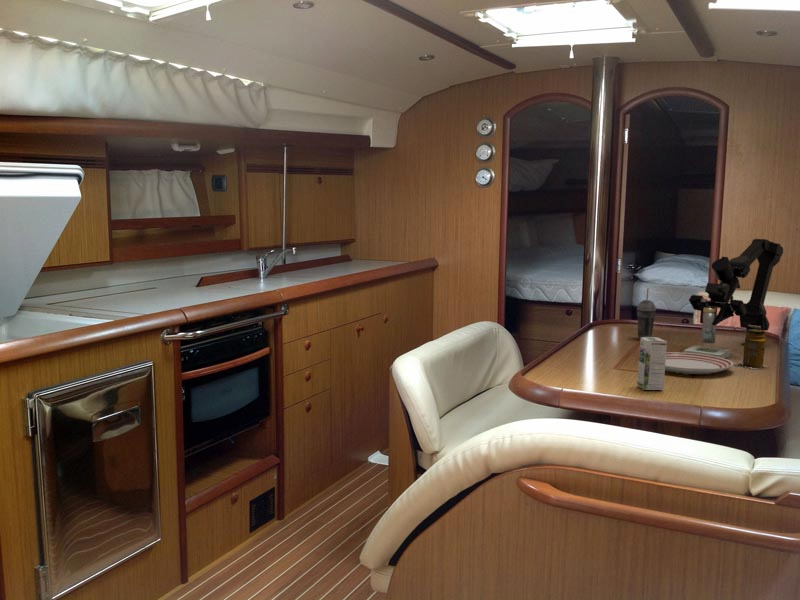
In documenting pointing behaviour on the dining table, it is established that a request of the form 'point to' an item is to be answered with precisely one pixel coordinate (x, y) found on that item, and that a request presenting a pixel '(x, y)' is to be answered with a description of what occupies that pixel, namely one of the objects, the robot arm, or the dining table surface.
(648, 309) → the beverage cup
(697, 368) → the dinner plate
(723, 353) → the white flat square frame
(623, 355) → the dining table surface
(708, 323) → the jar with gold lid
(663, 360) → the syrup box
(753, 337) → the condiment
